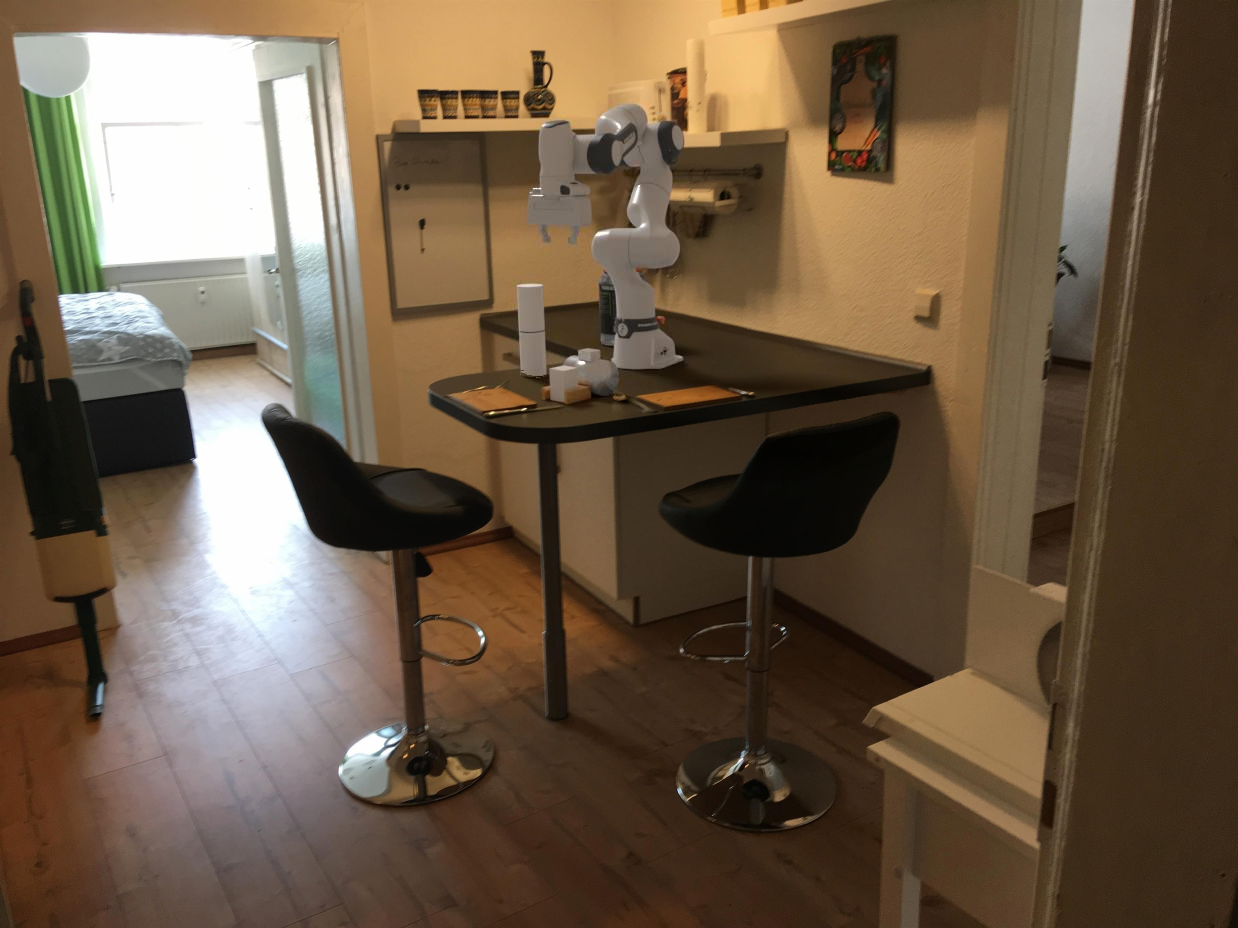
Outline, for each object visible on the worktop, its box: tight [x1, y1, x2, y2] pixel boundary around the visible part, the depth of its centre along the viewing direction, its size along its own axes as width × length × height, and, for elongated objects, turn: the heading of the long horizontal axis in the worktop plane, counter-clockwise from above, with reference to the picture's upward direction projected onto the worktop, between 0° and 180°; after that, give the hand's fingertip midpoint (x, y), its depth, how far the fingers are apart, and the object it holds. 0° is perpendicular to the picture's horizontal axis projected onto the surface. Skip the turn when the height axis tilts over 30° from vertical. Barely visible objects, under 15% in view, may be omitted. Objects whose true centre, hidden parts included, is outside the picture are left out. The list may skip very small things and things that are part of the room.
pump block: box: [549, 364, 578, 403], centre depth 251 cm, size 5×5×8 cm
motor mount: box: [541, 347, 620, 405], centre depth 254 cm, size 18×12×11 cm
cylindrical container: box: [516, 283, 547, 377], centre depth 278 cm, size 7×7×25 cm
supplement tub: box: [598, 267, 648, 347], centre depth 324 cm, size 16×16×26 cm
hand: (559, 243), depth 257 cm, fingers open, 8 cm apart
